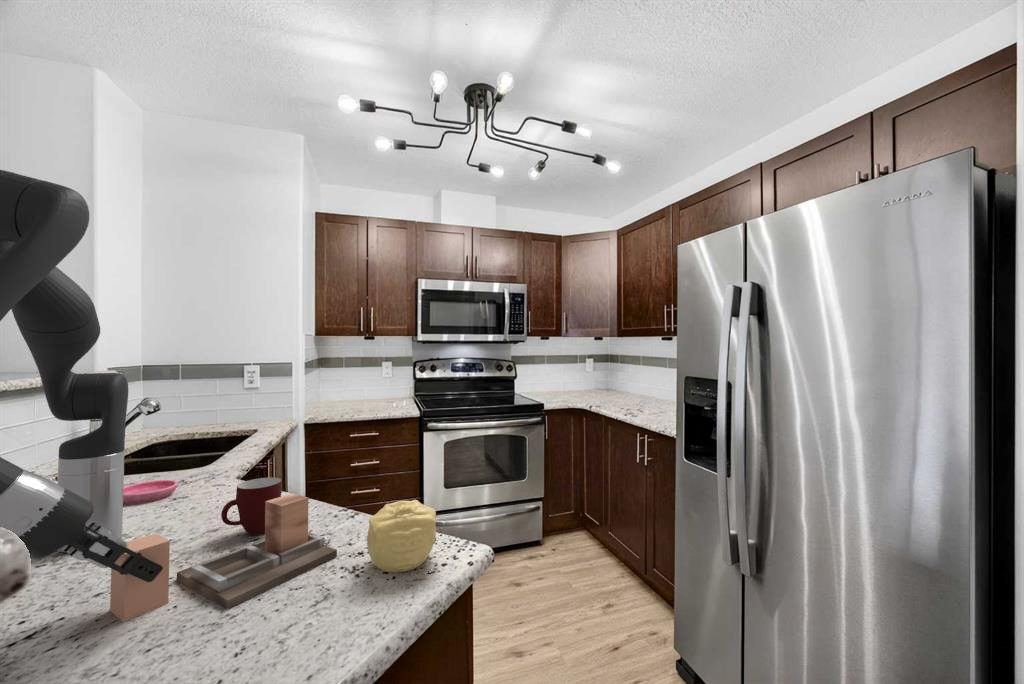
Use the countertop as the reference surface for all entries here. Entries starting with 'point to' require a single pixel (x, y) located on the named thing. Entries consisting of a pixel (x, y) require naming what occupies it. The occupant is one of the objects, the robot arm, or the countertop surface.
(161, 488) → the saucer
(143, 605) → the pillar
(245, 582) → the wooden block stand
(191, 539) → the countertop surface
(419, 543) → the sculpture
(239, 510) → the mug
